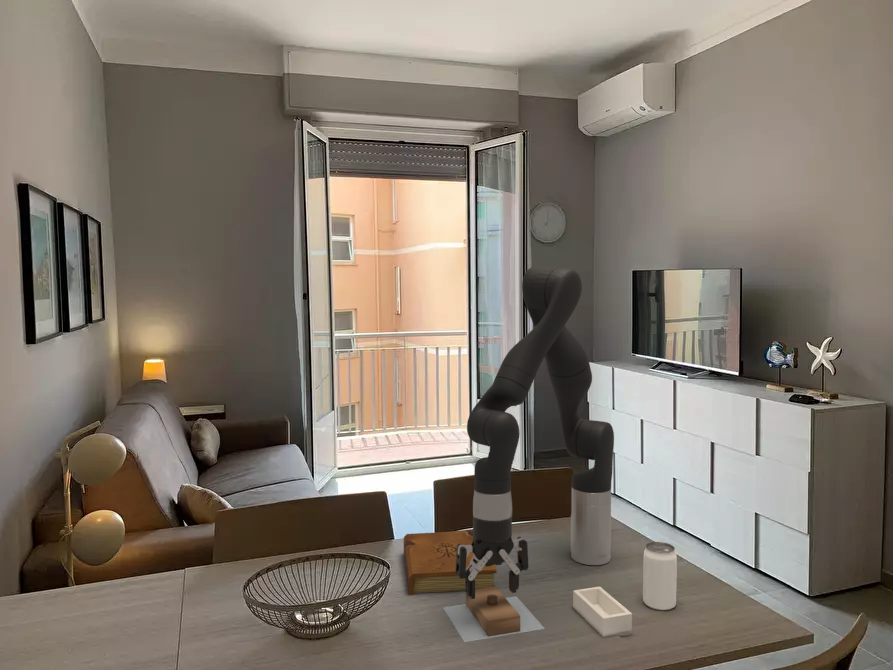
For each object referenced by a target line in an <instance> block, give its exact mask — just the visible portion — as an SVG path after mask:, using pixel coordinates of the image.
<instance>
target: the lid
mask: <svg viewBox="0 0 893 670" xmlns="http://www.w3.org/2000/svg"><path fill="white" fill-rule="evenodd" d="M465 595H466V596H465V604H466V605H467V607H468V608H469V610H470V611H471V613H472V614H473V615H474V617H475V618H476V620H477V621H478V623H479V624H480V625H481V627H482V628H483V630H484V631H485V633H486V634H487V635H488V637H489V636H495V635H501V634H507V633H513V632H519V631H520V615H519V614H518V613H517V611H516V610H515V609H514V608H513V607H512V605H511V604H510V603H509V602H508V601H507V599H506V598H507V597H505V596H504V595H503V593H502V592H501V591H500V590H499V588H498V587H497V586H494V587H489V588H482V589H475V599H471V598H470V597H469V596H468V595H467V594H466V593H465Z"/></svg>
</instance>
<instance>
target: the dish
mask: <svg viewBox="0 0 893 670" xmlns="http://www.w3.org/2000/svg"><path fill="white" fill-rule="evenodd" d="M572 595H573V596H572V608H573V609H574V610H575V611H576V612H577V613H578V615H580V616H581V617H582V618H583V619H584V620H585V621H586V622H587V623H589V625H590V626H592V627H593V628H594V630H595V631H597V632H598V634H599V635H600V636H601V637H603V638H606V637H611V636H619V637H624V636H625V637H626V636H630V635H631V636H632V635H633V613H632V612H631V611H629V609H627V608H626V607H625V606H624V605H623V604H621V603H620V602H619V601H618V600H617V599H615V598H614V597H613V596H612V595H610V593H608V591H606V590H604V588H602V587H601V586H594V587H588V588H581V589H575V590H572Z"/></svg>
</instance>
